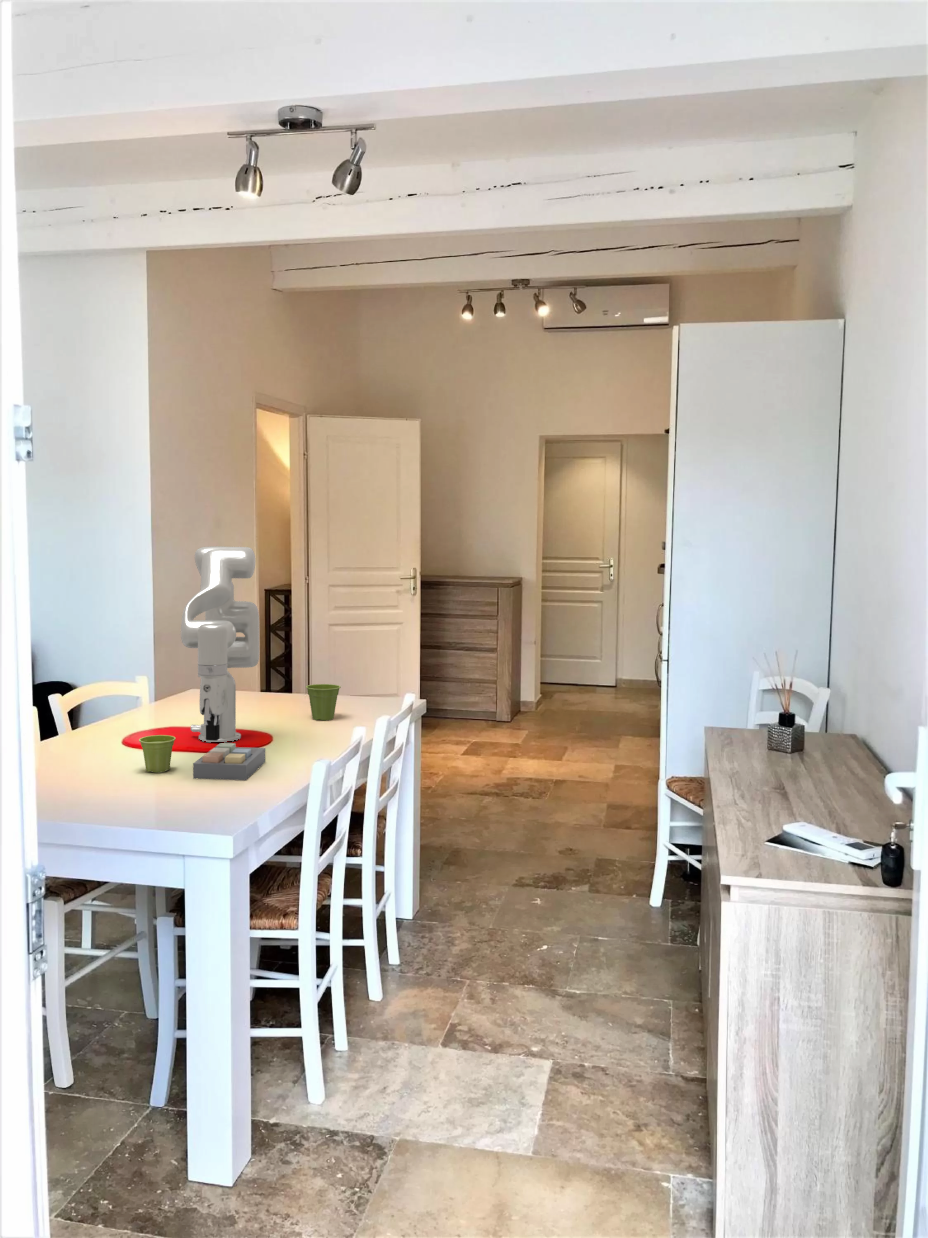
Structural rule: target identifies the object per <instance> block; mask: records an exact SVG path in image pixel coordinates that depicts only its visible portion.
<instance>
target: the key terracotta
mask: <svg viewBox="0 0 928 1238" xmlns="http://www.w3.org/2000/svg"><path fill="white" fill-rule="evenodd" d="M222 760H223V753H208V752H206V753H205V754H204V755H203V762H208V763H220V762H221V761H222Z"/></svg>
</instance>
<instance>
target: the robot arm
mask: <svg viewBox="0 0 928 1238" xmlns="http://www.w3.org/2000/svg"><path fill="white" fill-rule="evenodd" d="M194 561H195V562H194V563H195V566H196V569H197V571H198V573H199V575H200V590H199V591H198V592H197V593H195V594H194V595H193V596H192V597H191V598H190V599H189V600H188V602H187V603H186V604H185V606H184V608H183V611H182V615H181V624H180V639H181V640H180V641H181V643H182V644H183V646H184V647H186V648H189V649H197V677H198V678H200V683H199V714H200V715H202V716H203V723H202V724H190V731H191V732H193V733H200V734H199V735H198V740H199V739H200V740H202V741H201V742H204V741H206V742H205V743H211V742H224V743H228V742H227V741H232V742H235V741H234V740H236V741H238V739H239V740H240V739H241V738H242V734H241V733H240V732H237V729H236V726H237V725H236V724H237V721H236V719H237V718H236V716H237V714H236V713H237V712H236V711H237V710H236V708H237V706H236V702H237V701H236V700H237V699H236V698H237V697H236V696H237V694H236V693H237V692H236V691H237V689H236V688H237V687H236V684H237V683H236V680H235V678H234V676H233V675H232V674H231V673H230V671H228V669H231V668H232V669H234V668H235V669H236V668H237V669H239V668H243V669H244V668H245V669H246V668H254V667H256V666H257V665H258V663H259V661H260V614H259V608H258V605H256V603H255V602H251V601H244V600H243V601H240V600H239V601H236V600H235V586H234V583H233V581H232V580H233V579H251V578H253V576H254V573H255V569H256V555H255V552H254V550H253V548H251V547H248V546H217V545H216V546H203V547H200V548H198V549H196V550H195V552H194ZM203 613H204V615H205V616H204V617H205V620H204V619H201V620H200V619H198V620H196V619H195V618H196V617H197V616H199V615H201V614H203ZM194 619H195V620H194ZM238 633H240V634H243V636H237V634H238ZM200 740H199V741H200Z"/></svg>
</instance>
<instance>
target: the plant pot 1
mask: <svg viewBox="0 0 928 1238" xmlns="http://www.w3.org/2000/svg"><path fill="white" fill-rule="evenodd" d="M138 741H139V743H140V745H141V748H142V753H143V759H144V766H145V770H146V772H148V773H150V772H152V773H154V774H155V773H156V774H158V773H164V772H166V771H169V770H170V769H171V761H172V754H173V753H172V752H173V746H174V745H175V741H176V737H175V736H174V735H167V734H156V735H147V736H143V737H140V738H139V739H138Z"/></svg>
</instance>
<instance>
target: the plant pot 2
mask: <svg viewBox="0 0 928 1238" xmlns="http://www.w3.org/2000/svg"><path fill="white" fill-rule="evenodd" d="M341 686H342V685H337V684H331V683H320V684H319V683H317V684H316V683H313V684H309V685H306V686H305V688H306V690H307V694H308V697H309V698H308V699H309V705H310V711H311V716H312V717H311V718H312V720H314V721H319V720H320V721H324V722H325V721H332V720H333V719H334V718H335V713H336V706H337V700H338V695H339V692H340V689H341Z"/></svg>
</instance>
